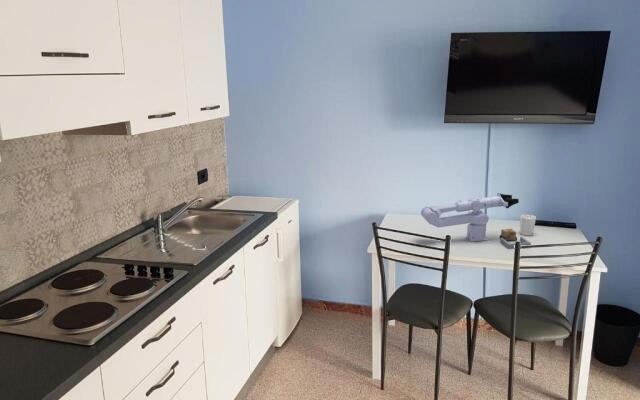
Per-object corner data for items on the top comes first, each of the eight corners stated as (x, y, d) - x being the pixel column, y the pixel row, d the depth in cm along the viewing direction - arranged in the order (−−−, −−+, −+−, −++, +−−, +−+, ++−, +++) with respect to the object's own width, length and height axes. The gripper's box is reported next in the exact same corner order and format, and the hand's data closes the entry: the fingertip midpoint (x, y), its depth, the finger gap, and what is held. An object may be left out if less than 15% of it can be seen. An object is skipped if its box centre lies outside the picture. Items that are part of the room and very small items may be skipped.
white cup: (525, 236, 272) (526, 219, 269) (515, 232, 279) (517, 215, 276) (537, 235, 274) (538, 218, 271) (527, 230, 281) (529, 213, 278)
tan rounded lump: (503, 241, 266) (504, 232, 264) (499, 238, 271) (500, 229, 269) (516, 240, 266) (517, 231, 265) (512, 237, 271) (513, 228, 270)
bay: (508, 248, 256) (508, 244, 255) (500, 242, 265) (500, 238, 264) (530, 247, 257) (530, 243, 256) (521, 241, 266) (522, 236, 265)
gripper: (496, 198, 258) (521, 195, 259) (484, 191, 272) (508, 188, 272) (496, 211, 260) (521, 208, 261) (485, 203, 274) (508, 200, 274)
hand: (514, 198), depth 267 cm, fingers open, 7 cm apart
